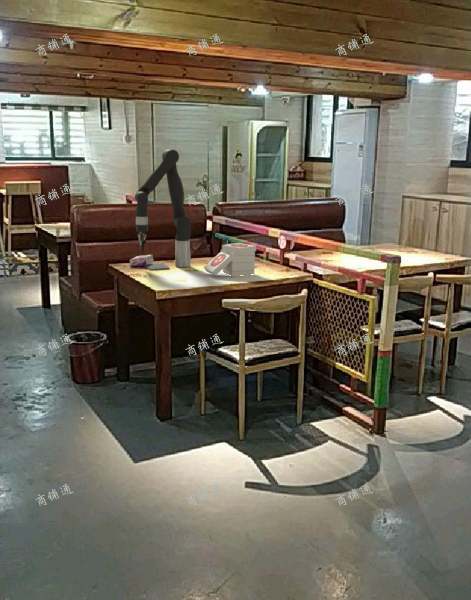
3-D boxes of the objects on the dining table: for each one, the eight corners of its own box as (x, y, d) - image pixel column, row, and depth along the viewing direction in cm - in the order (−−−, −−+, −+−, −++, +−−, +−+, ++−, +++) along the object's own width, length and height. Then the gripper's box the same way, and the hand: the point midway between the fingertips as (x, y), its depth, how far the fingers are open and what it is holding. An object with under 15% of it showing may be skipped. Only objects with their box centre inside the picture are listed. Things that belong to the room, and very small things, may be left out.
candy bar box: (129, 259, 403) (136, 256, 419) (130, 267, 404) (137, 263, 420) (145, 257, 401) (152, 254, 417) (146, 265, 402) (153, 261, 418)
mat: (162, 265, 414) (162, 263, 414) (169, 269, 400) (169, 267, 399) (143, 266, 409) (143, 264, 409) (149, 270, 395) (149, 268, 395)
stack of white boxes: (202, 273, 389) (202, 244, 385) (246, 270, 401) (246, 242, 397) (213, 279, 372) (214, 249, 368) (259, 276, 384) (259, 247, 380)
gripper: (150, 224, 390) (150, 252, 394) (145, 222, 402) (145, 249, 406) (138, 225, 387) (139, 252, 391) (133, 222, 399) (134, 249, 403)
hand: (142, 250), depth 398 cm, fingers closed
